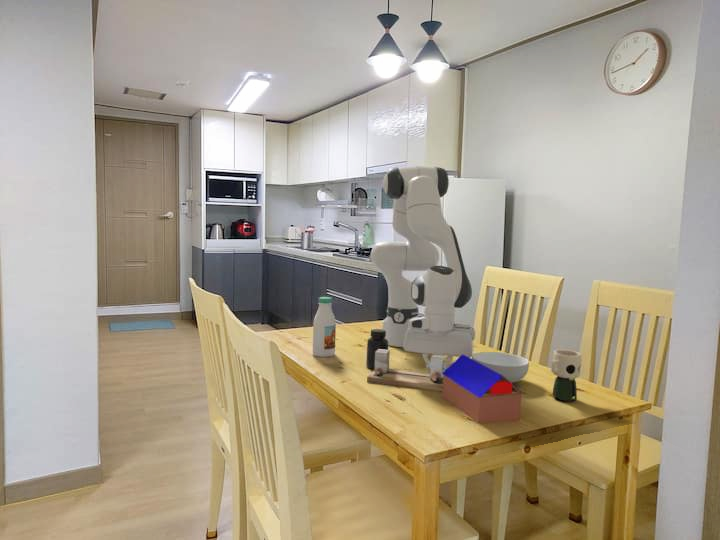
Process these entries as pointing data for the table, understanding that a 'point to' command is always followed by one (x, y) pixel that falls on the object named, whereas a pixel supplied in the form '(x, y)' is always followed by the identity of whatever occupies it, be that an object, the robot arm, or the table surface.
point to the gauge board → (400, 375)
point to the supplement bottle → (375, 346)
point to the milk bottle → (324, 329)
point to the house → (480, 392)
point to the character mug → (566, 373)
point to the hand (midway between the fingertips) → (437, 368)
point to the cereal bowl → (504, 364)
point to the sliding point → (436, 367)
